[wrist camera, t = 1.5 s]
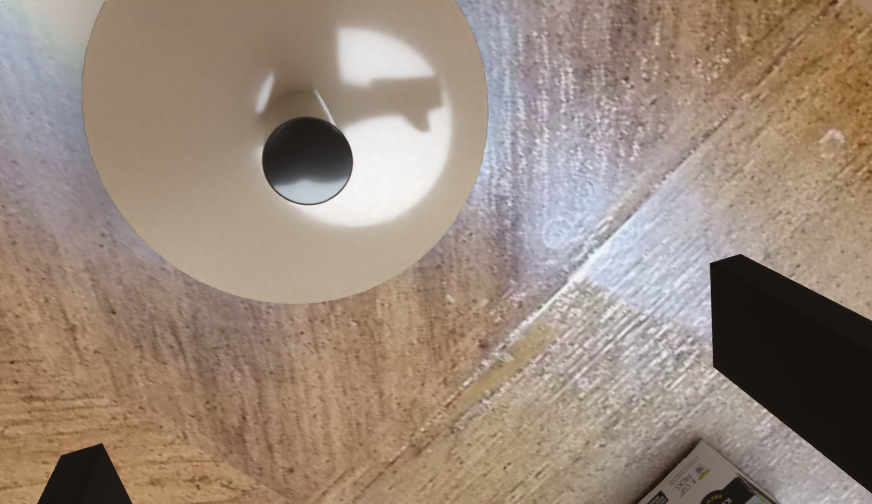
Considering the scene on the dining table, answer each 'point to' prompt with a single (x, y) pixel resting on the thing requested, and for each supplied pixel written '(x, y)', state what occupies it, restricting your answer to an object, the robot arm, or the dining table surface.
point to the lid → (286, 136)
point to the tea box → (707, 482)
